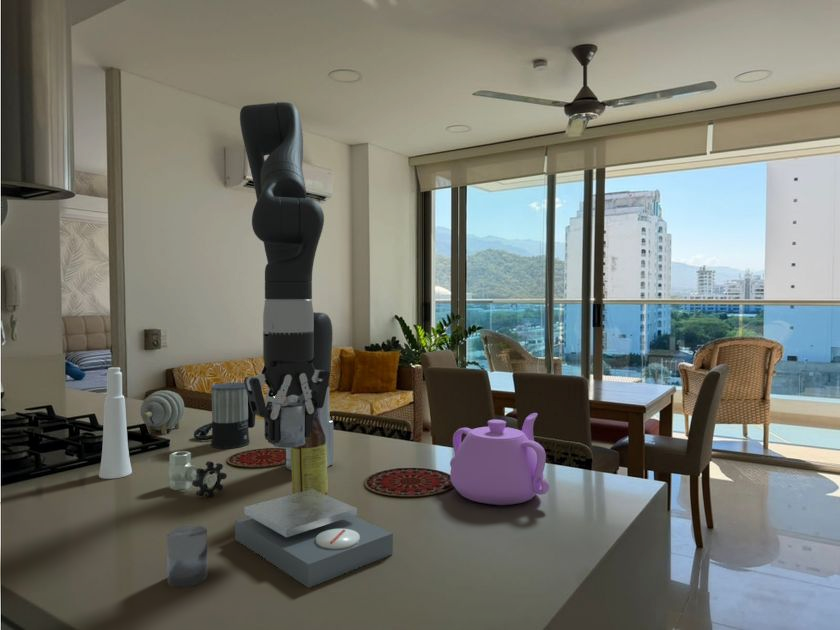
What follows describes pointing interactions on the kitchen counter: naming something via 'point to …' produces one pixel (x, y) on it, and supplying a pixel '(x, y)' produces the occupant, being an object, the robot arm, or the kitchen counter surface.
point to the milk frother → (228, 417)
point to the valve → (193, 474)
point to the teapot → (498, 463)
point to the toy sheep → (162, 411)
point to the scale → (317, 547)
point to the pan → (299, 512)
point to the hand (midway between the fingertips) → (288, 439)
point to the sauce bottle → (310, 461)
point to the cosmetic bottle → (114, 430)
